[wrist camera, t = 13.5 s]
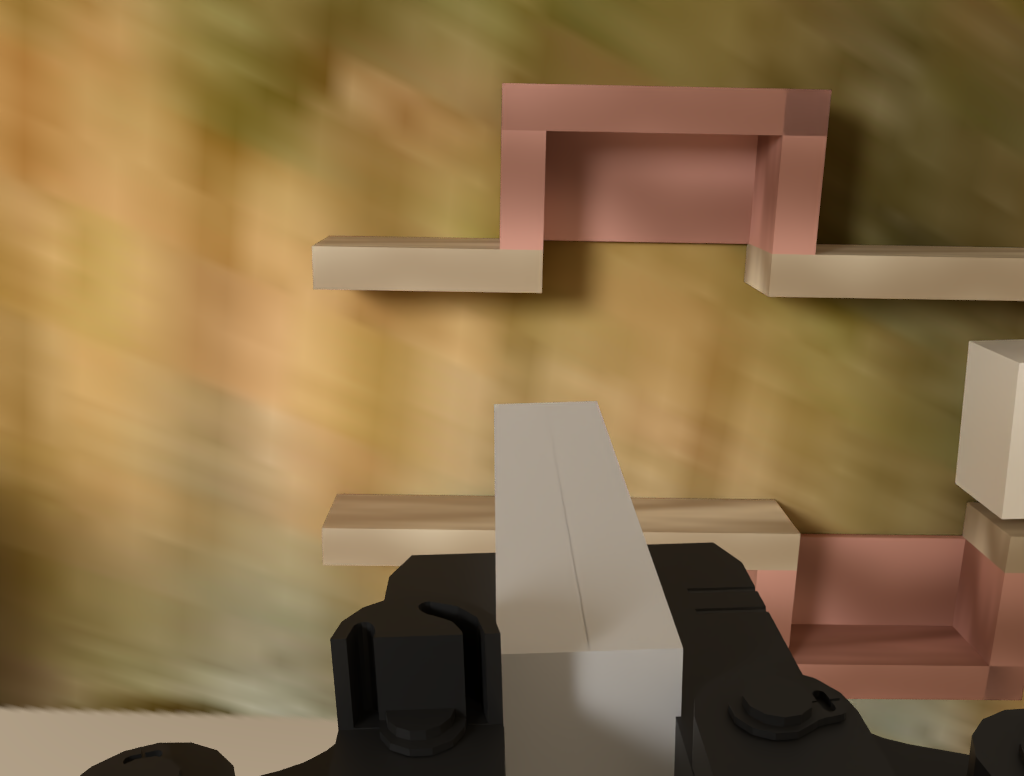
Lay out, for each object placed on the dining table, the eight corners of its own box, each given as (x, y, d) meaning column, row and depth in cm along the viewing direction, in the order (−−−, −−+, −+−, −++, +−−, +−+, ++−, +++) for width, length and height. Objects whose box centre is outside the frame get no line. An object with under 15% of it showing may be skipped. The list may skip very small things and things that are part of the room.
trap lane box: (324, 84, 35) (290, 75, 29) (1227, 102, 36) (1369, 96, 30) (341, 647, 41) (315, 732, 35) (1116, 655, 42) (1216, 740, 36)
